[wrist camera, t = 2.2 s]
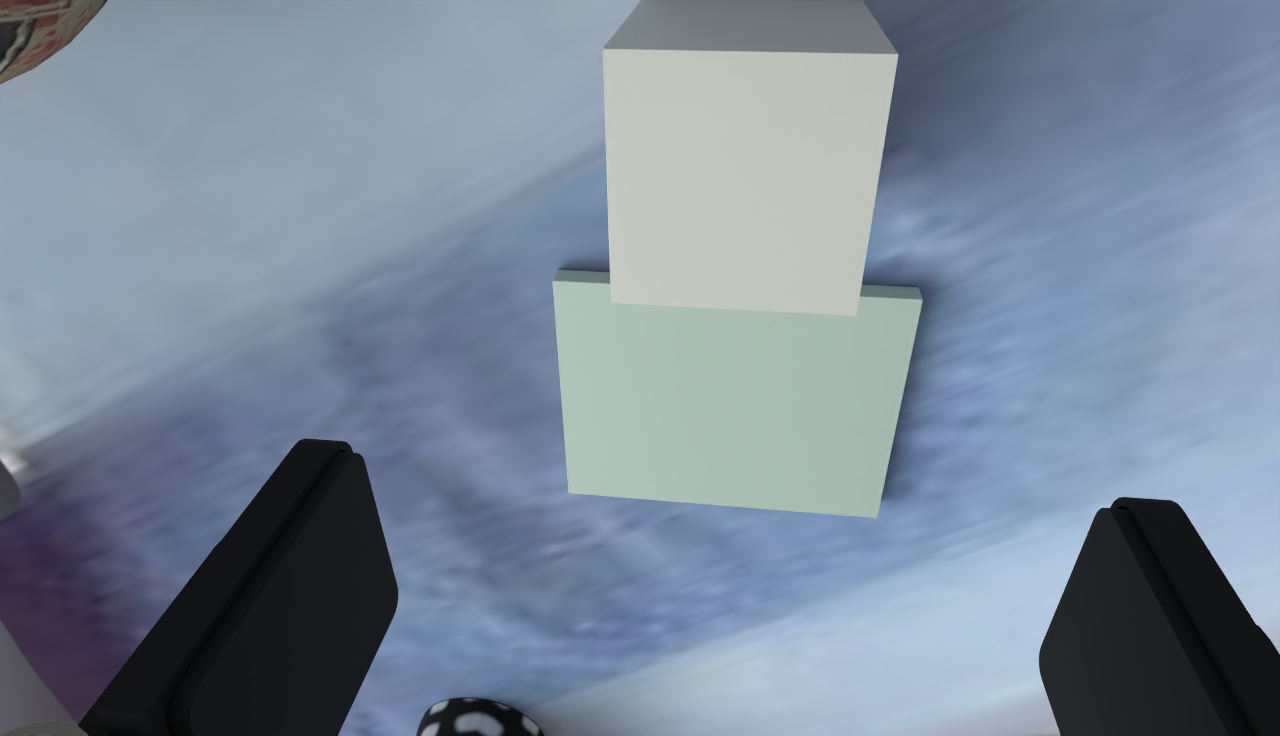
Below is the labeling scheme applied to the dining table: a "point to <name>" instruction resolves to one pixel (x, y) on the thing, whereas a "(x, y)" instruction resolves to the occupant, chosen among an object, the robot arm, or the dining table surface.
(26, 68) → the ceramic jug
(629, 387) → the sage board
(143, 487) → the dining table surface
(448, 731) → the spotted tube
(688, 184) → the cream block
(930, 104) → the dining table surface
